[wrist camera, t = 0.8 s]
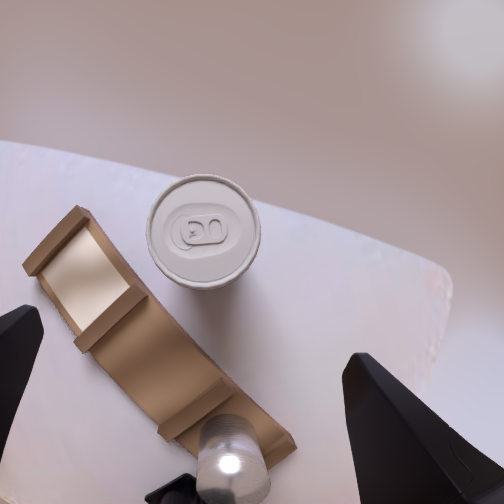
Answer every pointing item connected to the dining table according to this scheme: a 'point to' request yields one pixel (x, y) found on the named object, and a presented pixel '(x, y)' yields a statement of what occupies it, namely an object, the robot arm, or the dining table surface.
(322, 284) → the dining table surface
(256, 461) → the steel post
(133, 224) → the dining table surface
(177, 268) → the beverage can
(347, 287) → the dining table surface
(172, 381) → the walnut rail
